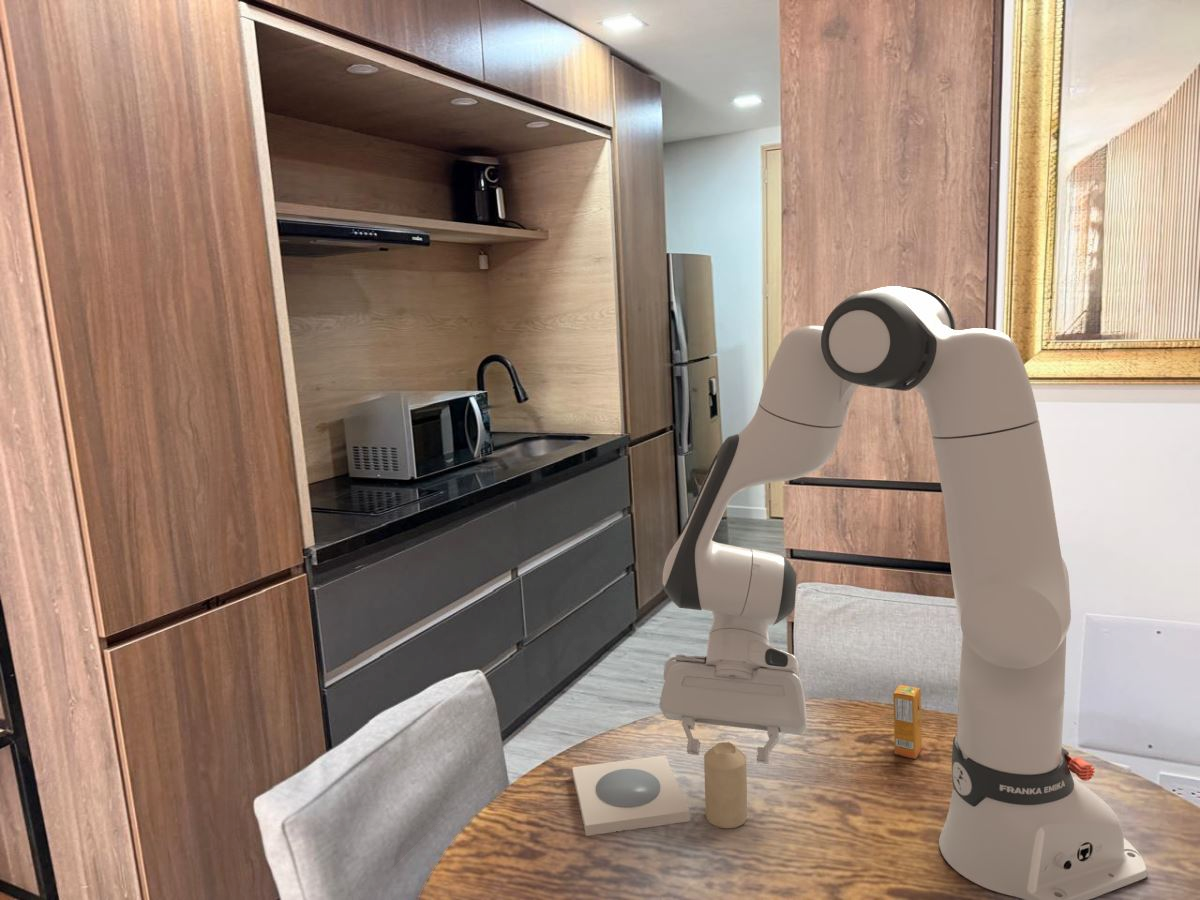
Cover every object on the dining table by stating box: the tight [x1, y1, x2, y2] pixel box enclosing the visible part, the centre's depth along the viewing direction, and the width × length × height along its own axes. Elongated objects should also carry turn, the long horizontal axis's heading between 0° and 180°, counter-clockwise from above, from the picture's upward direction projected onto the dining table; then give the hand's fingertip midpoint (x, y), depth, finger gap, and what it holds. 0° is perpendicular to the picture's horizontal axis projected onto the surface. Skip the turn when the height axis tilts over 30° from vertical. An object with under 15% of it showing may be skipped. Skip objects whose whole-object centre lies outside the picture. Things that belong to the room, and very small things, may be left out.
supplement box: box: [892, 684, 923, 760], centre depth 121 cm, size 3×3×10 cm
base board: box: [572, 754, 691, 837], centre depth 113 cm, size 14×14×2 cm
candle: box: [703, 741, 748, 829], centre depth 108 cm, size 6×6×10 cm
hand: (727, 758), depth 109 cm, fingers open, 8 cm apart
